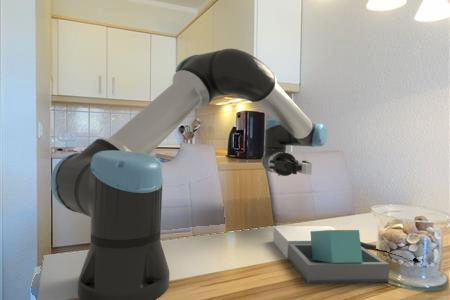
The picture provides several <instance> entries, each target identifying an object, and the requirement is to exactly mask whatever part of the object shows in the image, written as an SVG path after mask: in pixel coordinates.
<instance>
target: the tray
mask: <svg viewBox="0 0 450 300" xmlns="http://www.w3.org/2000/svg"><path fill="white" fill-rule="evenodd" d="M361 252H362V261H363V262H359V263H330V262H324V261H318V260H313V259H312V246H311V244H288V259H287V260H288V262H289V263H290V264H291V265H292V266H293V267H294V269H295V271H297V272H298V274H299V275H300V276H301V277H302V278H303V280H304V281H305V282H306V283H307V284H308V285H310V284H314V285H315V284H352V283H353V284H355V283H356V284H357V283H358V284H359V283H360V284H361V283H362V284H363V283H389V279H390V277H389V276H390V263H389V262H387V261H385V260H383V258H380V257H379V256H378V255H376V254H374V253H373V252H371V251H369V249H365V248H363V247H361Z"/></svg>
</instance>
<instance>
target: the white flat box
mask: <svg viewBox="0 0 450 300" xmlns="http://www.w3.org/2000/svg"><path fill="white" fill-rule="evenodd" d="M324 230H338V229H337V228H336V227H334V226H331V225H329V226H327V225H326V226H322V225H321V226H318V225H316V226H314V225H313V226H312V225H310V226H309V225H307V226H306V225H304V226H303V225H302V226H301V225H299V226H298V225H296V226H294V225H293V226H291V225H290V226H287V225H286V226H285V225H284V226H282V225H279V226H278V225H277V226H275V225H274V226H273V239H272V242H273V243H274V245H275V246H277V248H278V249H279V250H280V252H281V253H282V254H283V256H285V258H286V259H287V260H288V244H311V232H310V231H324Z"/></svg>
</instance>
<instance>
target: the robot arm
mask: <svg viewBox="0 0 450 300" xmlns="http://www.w3.org/2000/svg"><path fill="white" fill-rule="evenodd" d="M231 95H232V96H233V95H234V96H236V95H237V96H242V97H244V98H246V100H248V101H249V102H252V103H256V104H257V105H259V106H260V108H261V109H263V110H264V111H265V112H266V113H267V114H268V115H269V116H271V117H272V118H269V119H267V121H266V125H265V130H264V131H265V136H264V137H265V138H264V139H265V140H264V142H265V143H264V154H263V156H262V157H261V165H262V167H263V168H264V169H265V170H266V171H267V172H270V173H274V174H276V175H277V176H278V177H281V176H283V177H288V176H291V175H298V173H299V174H303V175H310V176H312V173H313V171H312V170H313V169H312V168H313V164H312V163H311V162H309V161H307V160H301V162H300V161H299V159H298V160H297V159H296V158H295V156H294V155H293V154H292V153H289V152H286V150H287V146H290V147H291V146H294V147H312V148H314V147H323V146H324V145H326V142H327V139H328V130H327V129H328V128H327V127H326V125H325V124H323V123H318V122H317V123H313V121H312V120H311V119H310V118H309V117H308V115H306V114H305V113H304V112H303V110H302V109H301V108H300V107H299V105H297V104H296V102H294V100H292V98H291V97H290V96H289V95H288V94H287V92H286V91H285V90H284V89H283V88H282V87H281V85H279V83H278V82H277V77H276V74H275V73H274V72H273V71H272V70H271V69H270V68H269V66H267V64H265V63H264V62H263V61H261V60H260V59H258V58H257V57H255V56H254V55H252V54H250V53H248V52H246V51H244V50H240V49H238V48H231V47H230V48H223V49H219V50H216V51H210V52H206V53H201V54H192V55H190V56H189V57H186V58H184V59H183V60H181V61H180V62H179V64H178V65H177V66H176V69H175V73H174V75H173V76H172V83H171V85H169V86H168V87H167V88H166V89H165V90H164V91H162V92H161V93H160V94H159V95H157V96H156V98H154V99H153V100H152V101H151V102H150V103H149V104H147V105H146V106H145V107H144V108H142V110H140V111H139V112H138V113H137V114H136V115H135V116H133V117H132V118H130V120H129V121H128V122H127V123H125V124H124V125H123V126H122V127H120V128H119V129H118V130H117V131H116V132H115V133H114V134H112V135H111V136H110V137H109V138H103V137H98V138H96V140H94V141H93V142H92V143H90V145H88V146H86V148H85V149H83V150H82V151H81V152H77V153H76V152H75V153H72V154H69V155H67V156H65V157H63V158H62V159H60V160H59V161H58V162H57V163H56V164H55V165H54V168H53V169H52V172H51V175H50V189H51V193H52V195H53V196H54V198H55V200H56V201H57V202H58V203H59V204H61V205H62V206H63V207H64V208H66V209H67V210H69V211H71V212H74V213H79V214H82V215H84V216H87V217H90V244H89V248H88V251H87V253H86V257H85V260H84V263H83V265H82V268H81V271H80V274H79V277H78V281H77V282H78V283H77V294H78V297H79V299H81V300H156V299H157V298H159V297H161V296H162V295H163V294H164V293H165V292H166V291H167V290H168V289H169V286H170V268H169V264H168V261H167V258H166V256H165V255H166V254H165V252H164V248H163V246H162V242H161V228H162V227H161V226H162V225H161V224H162V200H163V184H164V178H163V172H162V171H163V170H162V169H163V168H162V167H163V166H162V163H161V161H160V160H159V159H158V158H157V157H156V156H154V155H151V154H152V153H153V152H154V151H155V150H156V149H157V148H158V147H159V146H160V145H161V144H162V143H163V142H164V141H165V140H166V139H167V138H168V137H169V136H170V135H171V134H172V133H173V132H174V131H175V130H176V129H177V128H178V127H179V126H180V125H181V124H182V123H183V122H184V121H185V120H186V119H187V118H189V116H190V115H191V114H192V113H193V112H194V111H195V110H196V109H197V110H200V109H204V108H206V107H207V106H208V105H209V104H210V103H211V102H212V101H213V100H214V99H215V98H217V97H221V96H222V97H223V96H231Z"/></svg>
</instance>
